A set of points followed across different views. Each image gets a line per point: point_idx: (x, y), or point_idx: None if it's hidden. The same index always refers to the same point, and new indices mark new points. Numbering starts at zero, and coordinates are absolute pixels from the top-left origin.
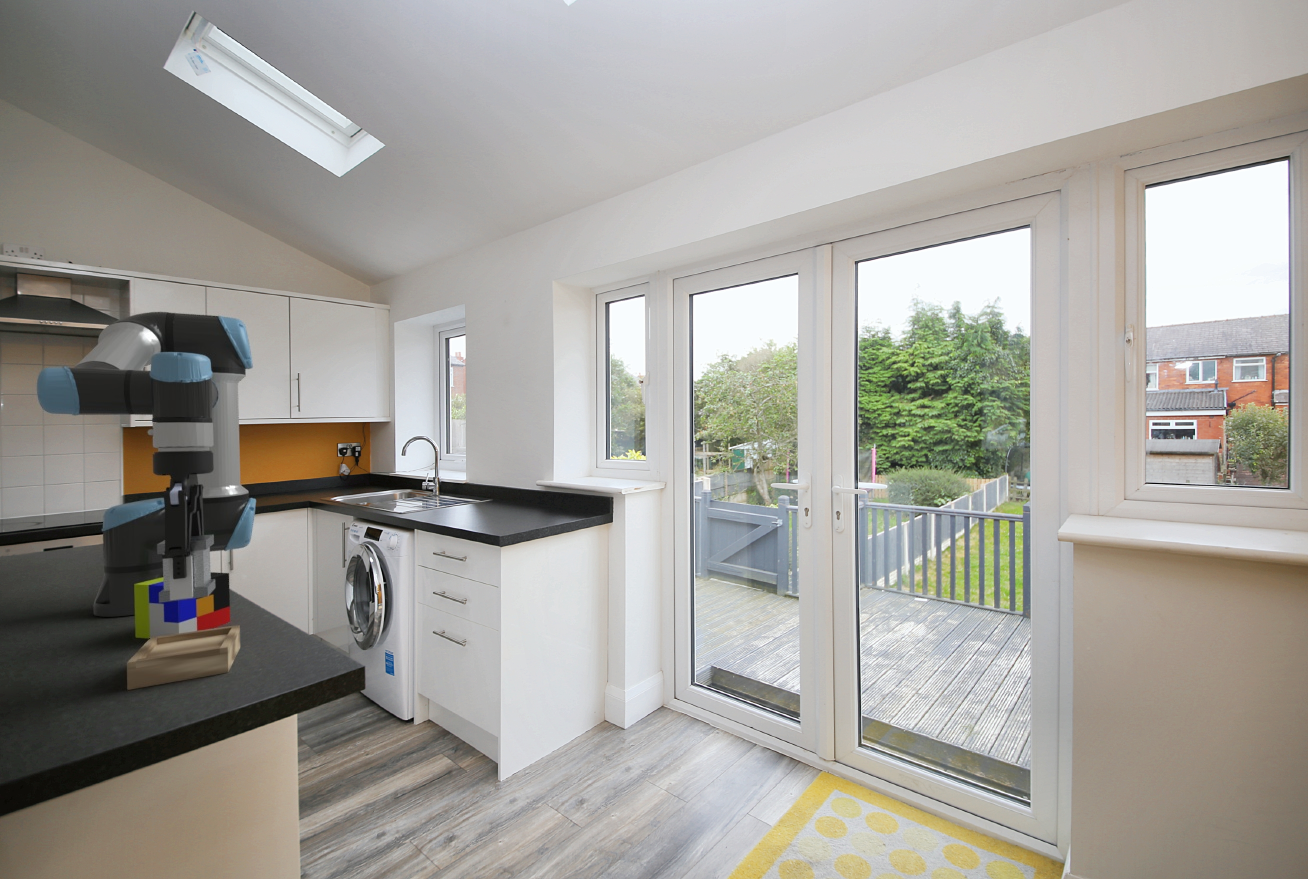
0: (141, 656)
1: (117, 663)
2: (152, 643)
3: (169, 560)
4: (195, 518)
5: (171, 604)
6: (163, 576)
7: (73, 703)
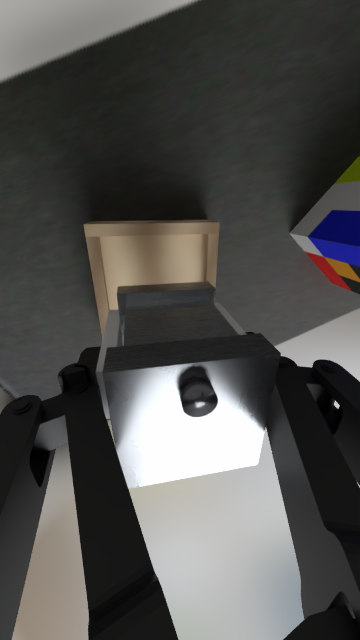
0: (118, 235)
1: (228, 167)
2: (181, 234)
3: (97, 367)
4: (290, 516)
5: (343, 227)
6: (125, 317)
7: (61, 156)
